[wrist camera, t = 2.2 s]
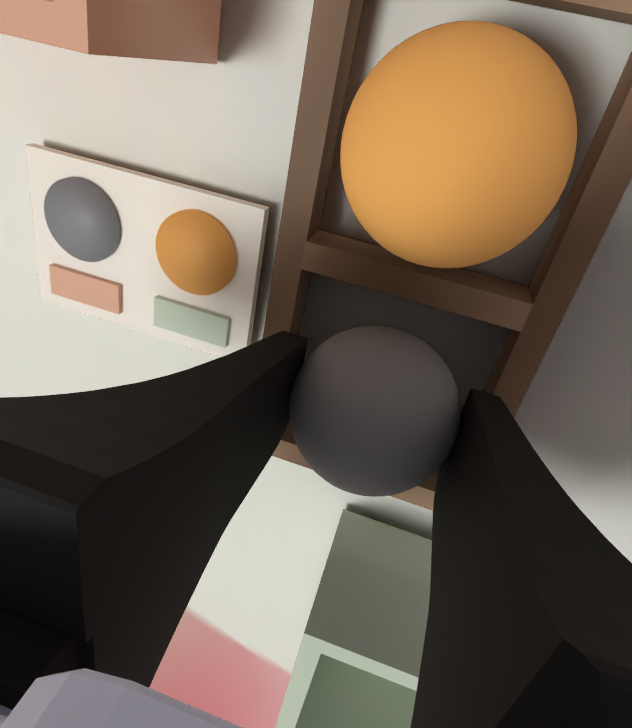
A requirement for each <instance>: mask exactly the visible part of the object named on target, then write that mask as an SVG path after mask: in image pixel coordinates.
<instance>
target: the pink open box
mask: <svg viewBox="0 0 632 728" xmlns="http://www.w3.org/2000/svg"><path fill="white" fill-rule="evenodd" d="M221 4H222V0H0V33H2V34H6V35H10V36H14V37H19V38H23V39H27V40H31V41H35V42H40V43H44V44H48V45H52V46H56V47H61V48H65V49H69V50H73V51H77V52H82V53H86V54H93V55H106V56H119V57H132V58H145V59H158V60H171V61H184V62H197V63H210V64H217V57H218V44H219V30H220V17H221Z"/></svg>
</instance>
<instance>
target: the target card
mask: <svg viewBox="0 0 632 728" xmlns="http://www.w3.org/2000/svg"><path fill="white" fill-rule="evenodd" d="M25 154H26V164H27V173H28V183H29V193H30V203H31V212H32V222H33V232H34V242H35V251H36V261H37V271H38V280H39V290H40V300H43V301H46V302H49V303H53V304H56V305H59V306H62V307H65V308H68V309H71V310H75V311H78V312H81V313H84V314H87V315H90V316H93V317H97V318H100V319H103V320H106V321H109V322H112V323H115V324H119V325H122V326H125V327H128V328H131V329H134V330H137V331H141V332H144V333H147V334H150V335H153V336H156V337H159V338H163V339H166V340H169V341H172V342H175V343H178V344H181V345H185V346H188V347H191V348H194V349H197V350H200V351H203V352H207V353H210V354H213V355H216V356H219V357H223V356H226V355H228V354H230V353H233V352H235V351H237V350H240V349H242V348H244V347H246V346H249V345H250V344H251V337H252V330H253V323H254V316H255V308H256V301H257V294H258V287H259V280H260V272H261V265H262V258H263V251H264V244H265V236H266V229H267V222H268V215H269V208H270V207H267V206H264V205H260V204H256V203H253V202H249V201H245V200H241V199H238V198H234V197H230V196H227V195H223V194H219V193H216V192H212V191H208V190H204V189H201V188H197V187H193V186H190V185H186V184H182V183H179V182H175V181H171V180H167V179H164V178H160V177H156V176H153V175H149V174H145V173H142V172H138V171H134V170H130V169H127V168H123V167H119V166H116V165H112V164H108V163H105V162H101V161H97V160H93V159H90V158H86V157H82V156H79V155H75V154H71V153H68V152H64V151H60V150H56V149H53V148H49V147H45V146H42V145H38V144H26V145H25Z"/></svg>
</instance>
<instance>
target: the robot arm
mask: <svg viewBox="0 0 632 728" xmlns="http://www.w3.org/2000/svg"><path fill="white" fill-rule="evenodd" d="M308 339H309V338H306V337H303V336H299V335H296V334H293V333H290V332H286V331H280V332H278V333H275V334H273V335H271V336H268V337H266V338H264V339H262V340H260V341H258V342H255V343H253V344H251V345H249V346H246V347H244V348H242V349H240V350H237V351H235V352H233V353H230V354H228V355H226V356H223V357H220V358H218V359H215V360H212V361H210V362H207V363H204V364H201V365H199V366H196V367H193V368H190V369H188V370H184V371H181V372H178V373H174V374H171V375H168V376H164V377H160V378H156V379H152V380H148V381H144V382H139V383H134V384H128V385H123V386H117V387H111V388H105V389H100V390H94V391H87V392H78V393H69V394H59V395H46V396H33V397H7V398H0V728H242V727H240V726H238V725H235V724H233V723H230V722H228V721H226V720H223V719H221V718H218V717H216V716H214V715H212V714H209V713H207V712H205V711H202V710H200V709H198V708H195V707H193V706H190V705H188V704H186V703H183V702H181V701H179V700H176V699H174V698H172V697H169V696H167V695H165V694H162V693H160V692H157V691H155V690H153V689H150V688H149V687H150V684H151V682H152V680H153V678H154V675H155V673H156V671H157V669H158V666H159V664H160V662H161V660H162V658H163V656H164V654H165V651H166V649H167V647H168V645H169V643H170V640H171V639H172V636H173V634H174V632H175V630H176V628H177V625H178V623H179V621H180V619H181V617H182V615H183V613H184V611H185V609H186V607H187V605H188V603H189V600H190V598H191V596H192V594H193V592H194V590H195V588H196V586H197V584H198V582H199V580H200V578H201V576H202V574H203V572H204V570H205V568H206V566H207V564H208V562H209V560H210V558H211V556H212V554H213V552H214V550H215V548H216V546H217V544H218V542H219V540H220V538H221V536H222V534H223V532H224V531H225V529H226V527H227V525H228V524H229V522H230V520H231V518H232V517H233V515H234V514H235V512H236V511H237V509H238V508H239V506H240V504H241V503H242V501H243V500H244V498H245V497H246V495H247V494H248V492H249V490H250V489H251V487H252V486H253V484H254V483H255V481H256V479H257V478H258V476H259V475H260V473H261V472H262V470H263V469H264V467H265V465H266V464H267V462H268V461H269V459H270V457H271V456H272V454H273V453H274V451H275V449H276V448H277V446H278V444H279V442H280V440H281V438H282V436H283V434H284V432H285V429H286V427H287V425H288V423H289V421H290V416H289V403H290V395H291V391H292V387H293V383H294V380H295V378H296V376H297V374H298V372H299V370H300V367H301V366H302V364H303V363H304V358H305V353H306V348H307V344H308ZM410 728H632V563H631V562H630V561H629V560H628V559H627V558H626V557H625V556H623V555H622V554H621V553H620V552H619V551H618V550H617V549H616V548H615V547H614V546H613V545H612V544H611V543H610V542H609V541H608V540H607V539H606V538H605V537H604V535H603V534H602V533H601V532H600V531H599V530H598V529H597V528H596V527H595V526H594V524H593V523H592V522H591V521H590V520H589V519H588V518H587V517H586V516H585V515H584V514H583V512H582V511H581V510H580V509H579V508H578V507H577V506H576V504H575V503H574V502H573V501H572V500H571V498H570V497H569V496H568V495H567V493H566V492H565V491H564V490H563V488H562V487H561V486H560V484H559V483H558V482H557V481H556V479H555V478H554V477H553V475H552V474H551V473H550V471H549V470H548V469H547V467H546V466H545V464H544V463H543V462H542V460H541V459H540V457H539V456H538V454H537V453H536V452H535V450H534V449H533V447H532V446H531V444H530V443H529V441H528V440H527V438H526V436H525V435H524V433H523V432H522V430H521V429H520V427H519V425H518V424H517V422H516V421H515V419H514V418H513V416H512V414H511V413H510V411H509V410H508V408H507V406H506V405H505V403H504V402H503V400H502V399H501V397H499V396H496V395H493V394H490V393H486V392H483V391H480V390H476V389H473V388H471V389H470V391H469V394H468V396H467V399H466V401H465V403H464V406H463V408H462V410H461V419H460V425H459V431H458V435H457V438H456V441H455V443H454V446H453V448H452V450H451V452H450V454H449V456H448V458H447V459H446V460H445V462H444V463H443V464H442V465H441V467H440V468H439V472H438V477H437V483H436V489H435V495H434V504H433V526H432V553H431V580H430V598H429V610H428V618H427V625H426V632H425V639H424V646H423V653H422V660H421V666H420V672H419V678H418V685H417V691H416V697H415V704H414V710H413V716H412V721H411V727H410Z"/></svg>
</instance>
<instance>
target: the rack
mask: <svg viewBox="0 0 632 728" xmlns="http://www.w3.org/2000/svg"><path fill="white" fill-rule="evenodd" d="M363 1H364V0H314V6H313V13H312V19H311V26H310V32H309V39H308V46H307V52H306V59H305V65H304V72H303V78H302V85H301V91H300V98H299V105H298V111H297V118H296V124H295V131H294V137H293V144H292V150H291V157H290V164H289V170H288V177H287V183H286V190H285V196H284V203H283V209H282V216H281V223H280V229H279V236H278V242H277V249H276V255H275V262H274V268H273V275H272V282H271V288H270V295H269V301H268V308H267V314H266V321H265V327H264V334H263V339H264V338H266V337H268V336H271V335H273V334H275V333H278V332H280V331H286V332H290V333H293V334H296V335H299V331H300V326H301V321H302V316H303V311H304V306H305V300H306V295H307V290H308V285H309V280H310V275H311V272H313V273H317V274H320V275H324V276H327V277H331V278H334V279H338V280H341V281H345V282H348V283H352V284H355V285H359V286H362V287H366V288H369V289H373V290H376V291H380V292H383V293H387V294H390V295H394V296H397V297H401V298H404V299H408V300H411V301H415V302H418V303H422V304H425V305H429V306H432V307H436V308H439V309H443V310H446V311H450V312H453V313H457V314H460V315H464V316H467V317H471V318H474V319H478V320H481V321H485V322H488V323H492V324H495V325H499V326H502V327H506V328H509V329H510V331H509V333H508V336H507V338H506V340H505V342H504V345H503V347H502V349H501V352H500V354H499V356H498V358H497V361H496V363H495V365H494V368H493V370H492V372H491V374H490V377H489V379H488V381H487V384H486V386H485V388H484V390H483V392H486V393H490V394H493V395H496V396H499V397H501V399H502V400H503V402H504V403H505V405H506V406H507V408H508V410H509V411H510V413H511V414H512V416H513V418H514V416H515V414H516V412H517V410H518V408H519V406H520V404H521V402H522V400H523V398H524V396H525V394H526V391H527V389H528V387H529V385H530V383H531V381H532V379H533V377H534V375H535V373H536V371H537V369H538V367H539V365H540V363H541V361H542V359H543V357H544V355H545V353H546V351H547V349H548V347H549V345H550V343H551V341H552V339H553V337H554V334H555V332H556V330H557V328H558V326H559V324H560V322H561V320H562V318H563V316H564V314H565V312H566V310H567V308H568V306H569V304H570V302H571V300H572V298H573V296H574V294H575V292H576V290H577V288H578V286H579V284H580V282H581V280H582V278H583V275H584V273H585V271H586V269H587V267H588V265H589V263H590V261H591V259H592V257H593V255H594V253H595V251H596V249H597V247H598V245H599V243H600V241H601V239H602V237H603V235H604V233H605V231H606V229H607V227H608V225H609V223H610V221H611V218H612V216H613V214H614V212H615V210H616V208H617V206H618V204H619V202H620V200H621V198H622V196H623V194H624V192H625V190H626V188H627V186H628V184H629V182H630V180H631V178H632V52H631V54H630V56H629V59H628V61H627V63H626V66H625V68H624V70H623V73H622V75H621V77H620V79H619V82H618V84H617V86H616V89H615V91H614V93H613V95H612V98H611V100H610V102H609V105H608V107H607V109H606V111H605V114H604V116H603V118H602V121H601V123H600V125H599V127H598V130H597V132H596V134H595V137H594V139H593V141H592V143H591V146H590V148H589V150H588V153H587V155H586V157H585V159H584V162H583V164H582V166H581V169H580V171H579V173H578V175H577V178H576V180H575V182H574V185H573V187H572V189H571V191H570V194H569V196H568V198H567V201H566V203H565V205H564V207H563V210H562V212H561V214H560V217H559V219H558V221H557V223H556V226H555V228H554V230H553V233H552V235H551V237H550V240H549V242H548V244H547V246H546V249H545V251H544V253H543V256H542V258H541V260H540V262H539V265H538V267H537V269H536V272H535V274H534V276H533V278H532V281H531V283H530V285H529V287H527V286H523V285H519V284H516V283H512V282H508V281H505V280H501V279H497V278H494V277H490V276H486V275H483V274H479V273H475V272H472V271H468V270H464V269H461V268H435V267H428V266H423V265H418V264H415V263H412V262H409V261H407V260H404V259H402V258H400V257H398V256H396V255H394V254H392V253H391V252H389V251H388V250H386V249H385V248H383V247H380V246H376V245H373V244H369V243H365V242H362V241H358V240H354V239H351V238H347V237H343V236H340V235H336V234H332V233H329V232H325V231H321V230H319V228H320V223H321V218H322V213H323V208H324V202H325V197H326V192H327V187H328V182H329V177H330V171H331V166H332V161H333V156H334V151H335V146H336V141H337V135H338V130H339V125H340V120H341V115H342V110H343V104H344V99H345V94H346V89H347V84H348V79H349V73H350V68H351V63H352V58H353V53H354V48H355V42H356V37H357V32H358V27H359V22H360V17H361V12H362V6H363ZM510 1H515V2H520V3H525V4H530V5H535V6H540V7H546V8H551V9H556V10H561V11H566V12H571V13H576V14H581V15H586V16H591V17H596V18H601V19H607V20H612V21H617V22H622V23H627V24H632V0H510ZM272 456H275V457H278V458H281V459H284V460H286V461H289V462H292V463H295V464H298V465H301V466H304V467H307V468H310V469H312V468H311V467H310V466H309V464H308V463H307V462H306V461H305V459H304V457H303V456H302V454H301V453H300V451H299V449H298V447H297V445H296V443H295V440H294V437H293V433H292V430H291V425H290V421H289V423H288V425H287V427H286V429H285V432H284V434H283V436H282V438H281V440H280V442H279V444H278V446H277V448H276V449H275V451H274V453H273V454H272ZM438 472H439V469H438V470H437V471H436V472H435V473H434V474H433V475H432V476H431V477H429V478H428V479H427V480H426V481H424V482H423V483H421V484H420V485H418V486H416V487H414V488H412V489H410V490H407V491H404V492H402V493H399V494H395V495H389V496H392V497H395V498H398V499H400V500H403V501H406V502H409V503H412V504H415V505H418V506H421V507H424V508H427V509H430V510H433V504H434V495H435V489H436V483H437V477H438Z"/></svg>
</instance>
